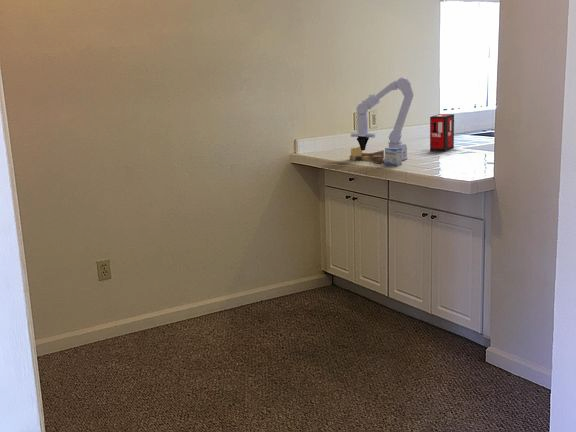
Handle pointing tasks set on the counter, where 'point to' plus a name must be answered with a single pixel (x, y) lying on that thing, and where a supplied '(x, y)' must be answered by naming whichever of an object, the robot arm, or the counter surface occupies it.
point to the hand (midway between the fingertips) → (363, 150)
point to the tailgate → (356, 151)
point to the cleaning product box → (442, 132)
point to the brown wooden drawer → (367, 156)
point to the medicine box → (393, 156)
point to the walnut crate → (378, 159)
